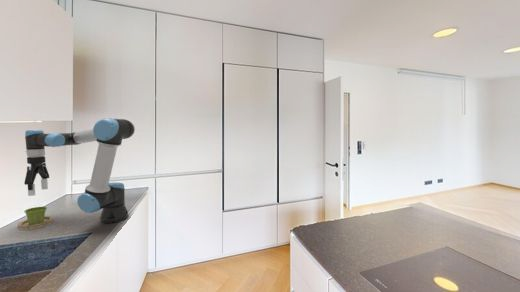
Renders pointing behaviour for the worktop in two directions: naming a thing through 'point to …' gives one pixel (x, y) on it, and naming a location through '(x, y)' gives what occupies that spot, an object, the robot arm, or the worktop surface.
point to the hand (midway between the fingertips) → (38, 192)
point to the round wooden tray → (25, 225)
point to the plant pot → (35, 215)
